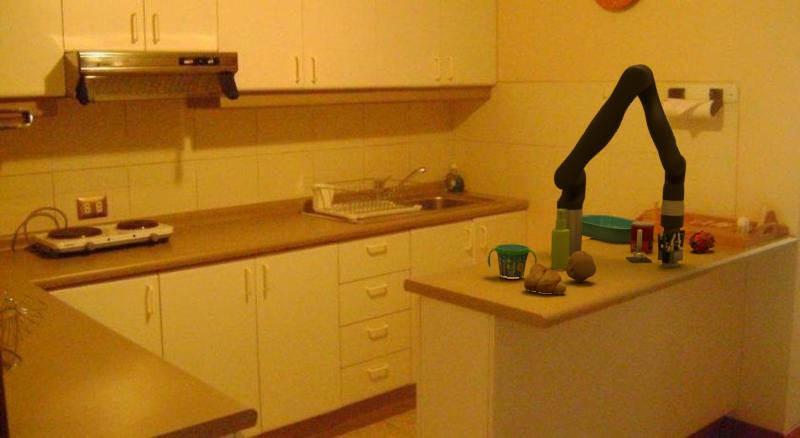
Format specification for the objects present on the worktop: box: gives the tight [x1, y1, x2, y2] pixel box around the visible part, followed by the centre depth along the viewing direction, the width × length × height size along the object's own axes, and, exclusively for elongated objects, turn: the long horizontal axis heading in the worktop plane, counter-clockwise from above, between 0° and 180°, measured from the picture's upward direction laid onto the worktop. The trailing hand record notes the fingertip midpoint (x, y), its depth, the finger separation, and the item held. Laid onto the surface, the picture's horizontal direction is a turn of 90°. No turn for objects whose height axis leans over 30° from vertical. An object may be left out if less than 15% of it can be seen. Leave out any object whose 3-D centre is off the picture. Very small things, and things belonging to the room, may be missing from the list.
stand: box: [625, 230, 653, 264], centre depth 297 cm, size 7×7×11 cm
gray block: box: [657, 248, 684, 262], centre depth 289 cm, size 6×6×4 cm
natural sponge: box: [565, 250, 597, 283], centre depth 266 cm, size 9×9×10 cm
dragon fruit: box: [688, 230, 716, 254], centre depth 313 cm, size 8×8×12 cm
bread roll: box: [523, 263, 567, 295], centre depth 253 cm, size 13×10×8 cm
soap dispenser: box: [550, 209, 570, 270], centre depth 286 cm, size 6×7×20 cm
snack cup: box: [487, 243, 538, 277], centre depth 272 cm, size 16×10×10 cm
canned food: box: [629, 220, 655, 255], centre depth 312 cm, size 8×8×11 cm
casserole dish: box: [582, 214, 655, 245], centre depth 344 cm, size 37×22×7 cm, turn 29°
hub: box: [662, 243, 679, 268], centre depth 289 cm, size 5×5×8 cm
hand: (670, 261), depth 289 cm, fingers closed on gray block, 6 cm apart
